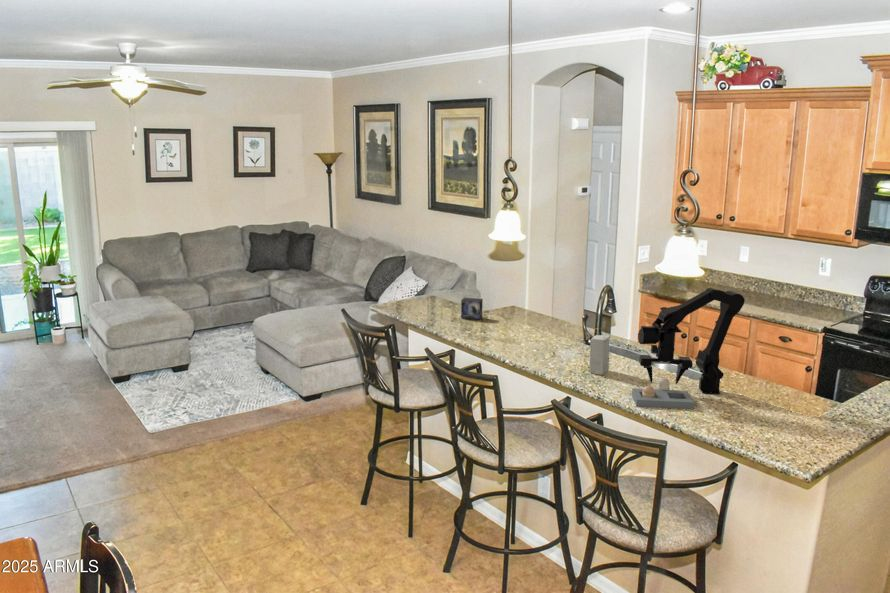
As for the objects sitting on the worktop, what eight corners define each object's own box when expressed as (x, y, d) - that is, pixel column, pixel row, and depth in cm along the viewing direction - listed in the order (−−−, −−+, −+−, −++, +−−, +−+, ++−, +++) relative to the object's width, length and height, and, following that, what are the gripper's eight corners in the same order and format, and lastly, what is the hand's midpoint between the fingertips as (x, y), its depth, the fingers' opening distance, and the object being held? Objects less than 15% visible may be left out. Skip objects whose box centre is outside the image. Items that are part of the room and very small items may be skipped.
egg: (667, 390, 268) (668, 376, 267) (669, 394, 264) (670, 380, 262) (655, 390, 268) (656, 375, 267) (657, 394, 264) (658, 379, 263)
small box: (460, 319, 375) (460, 299, 373) (463, 316, 381) (464, 297, 379) (479, 320, 372) (480, 301, 370) (482, 317, 378) (483, 298, 376)
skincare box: (602, 375, 285) (604, 340, 282) (588, 373, 288) (590, 338, 285) (608, 369, 292) (610, 335, 289) (594, 367, 295) (596, 333, 292)
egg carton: (686, 397, 261) (688, 382, 260) (693, 409, 250) (695, 393, 248) (631, 394, 264) (632, 379, 262) (636, 406, 252) (637, 391, 251)
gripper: (687, 338, 269) (684, 377, 272) (637, 336, 271) (635, 375, 274) (694, 346, 258) (691, 386, 261) (642, 344, 260) (639, 384, 263)
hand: (663, 383), depth 265 cm, fingers open, 9 cm apart
